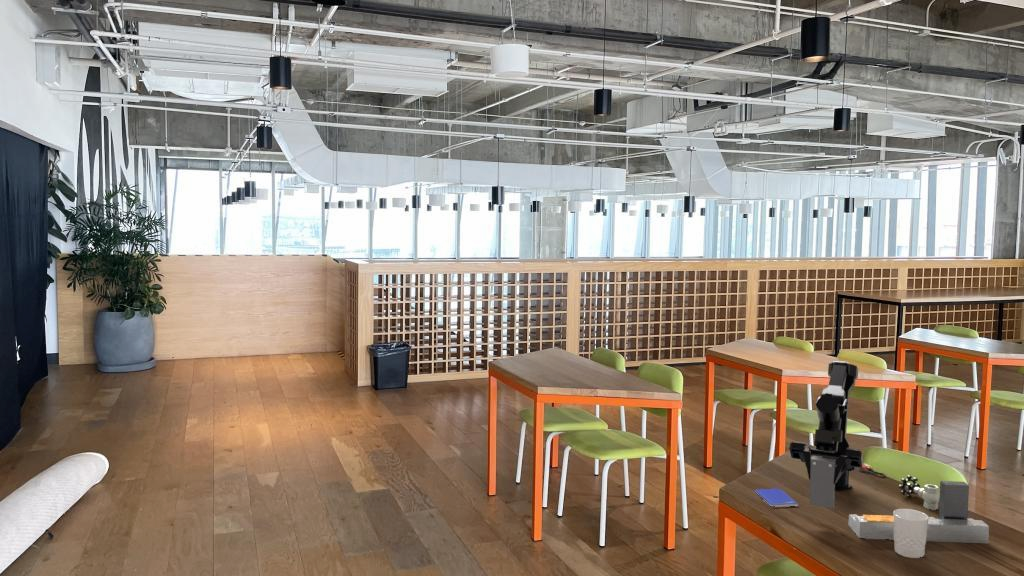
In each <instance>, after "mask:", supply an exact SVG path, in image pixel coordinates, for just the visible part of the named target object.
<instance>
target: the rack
mask: <svg viewBox="0 0 1024 576" xmlns="http://www.w3.org/2000/svg"><path fill="white" fill-rule="evenodd" d="M939 482H940V483H939V484H940V485H939V502H938V518H935V517H934V516H928V527H927V537H926V542H936V543H937V542H940V543H942V542H944V543H967V544H969V543H970V544H972V543H973V544H989V539H990V538H989V535H990V526H989V525H988V524H987V523H986V522H984V521H983V520H980V519H974V518H973V517H972V518H968V517H969V499H970V498H969V497H970V485H969V484H968V483H967V482H965V481H954V480H953V481H952V480H940V481H939ZM847 523H848V524H847V525H848V527H850V529H851V530H852V531H853V532H854V533H856V534H855V535H856V536H857V537H858V539H859V538H865V540H885V539H889V540H890V541H891V540H892V541H894V532H893V515H884V514H883V515H881V514H880V515H879V514H878V515H877V514H862V515H858V514H854V513H853V514H852V513H851V514H848V522H847ZM889 540H888V541H889Z"/></svg>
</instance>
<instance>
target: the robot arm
mask: <svg viewBox="0 0 1024 576" xmlns="http://www.w3.org/2000/svg"><path fill="white" fill-rule="evenodd" d="M827 375H828V377H829V382H828V385H827V387H825V388H823V389H822V392H821V394H820V395H819V396H818V398H817V399H816V401H815V407H816V408H815V409H816V412H817V417H818V420H819V421H818V428H817V429H814V431H815V432H814V441H813V442H814V443H813V444H814V447H810V446H808V445H806V442H803V441H798V440H797V441H795V440H792V441H791V442H790V443H789V448H788V449H789V452H790V453H789V454H790V457H791V458H792V459H796V460H800V462H801V463H804V465H805V468H806V469H807V470H806V471H807V476H808V480H809V481H810V473H811V458H812V456H816V457H823V458H830V459H836V467H835V475H834V484H835V491H837V492H839V491H843V490H849V489H853V485H850V484H849V480H850V479H849V477H850V472H852V471H856V470H855V468H858V469H859V468H861V467H862V465H863V463H864V462H863V461H864V460H863V459H864V457H863V451H862V450H861V449H858V448H852V447H851V445H850V443H849V442H848V440H847V428H848V427H847V426H848V415H849V414H848V413H849V407H850V401H849V400H850V392H851V391H852V389H853V388H854V387H855V386H856V380H858V378H859V368H858V366H857V365H855V364H852V363H850V362H848V361H841V360H833V361H832V362H830V363H828V367H827Z"/></svg>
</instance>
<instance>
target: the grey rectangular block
mask: <svg viewBox="0 0 1024 576" xmlns="http://www.w3.org/2000/svg"><path fill="white" fill-rule="evenodd" d="M835 467H836V459H830V458H823V457H822V456H814V455H811V473H810V480H809V481H810V482H809V483H810V484H809V505H810V506H816V507H822V508H827V509H832V510H833V509H834V506H835V497H836V496H835V495H836V494H835V493H836V490H835V484H834V475H835Z"/></svg>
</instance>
